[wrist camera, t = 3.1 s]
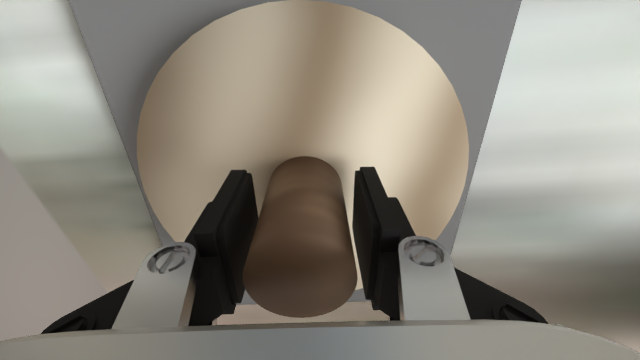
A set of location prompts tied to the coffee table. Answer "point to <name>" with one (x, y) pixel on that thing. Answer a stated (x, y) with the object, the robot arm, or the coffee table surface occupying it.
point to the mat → (214, 3)
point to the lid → (302, 139)
